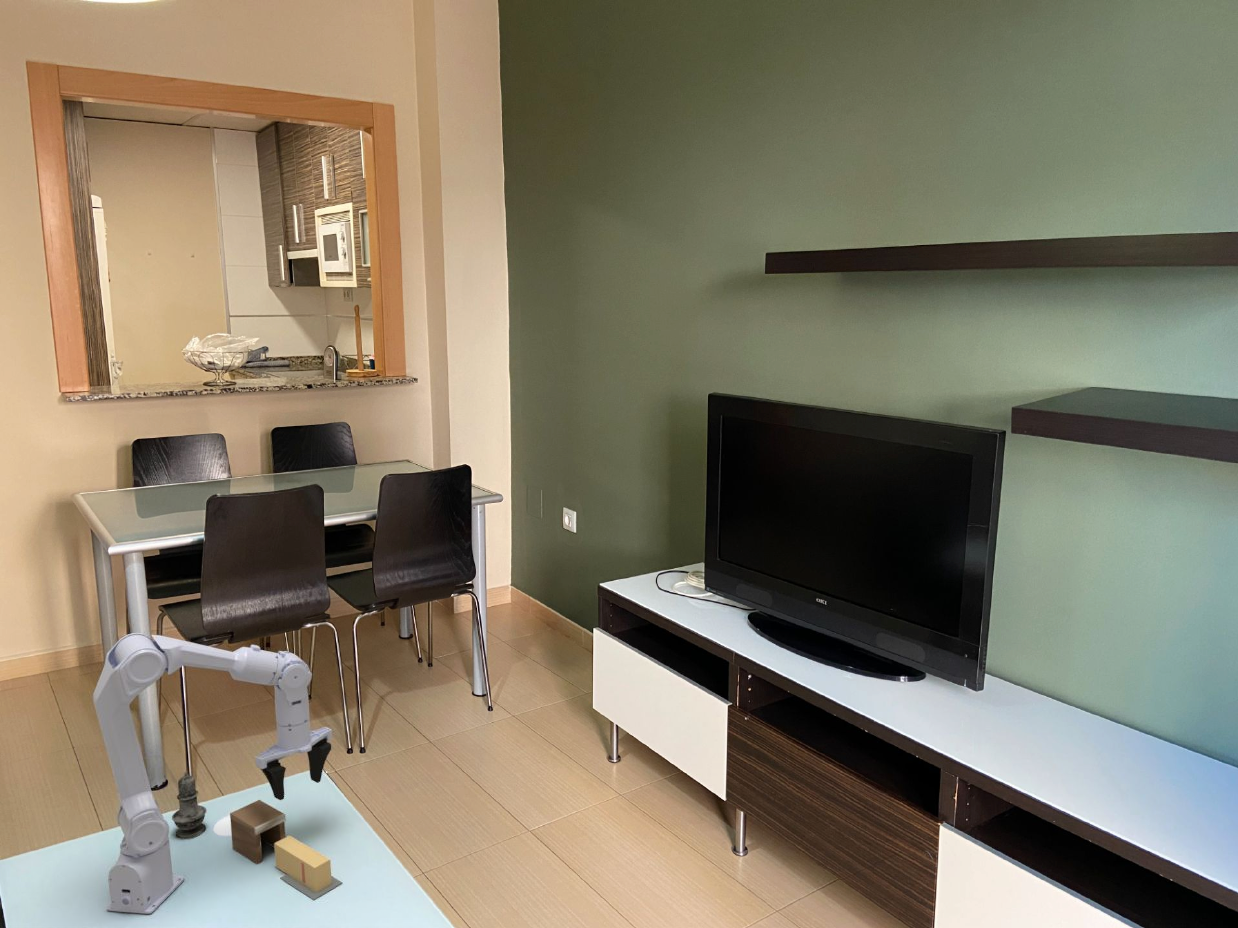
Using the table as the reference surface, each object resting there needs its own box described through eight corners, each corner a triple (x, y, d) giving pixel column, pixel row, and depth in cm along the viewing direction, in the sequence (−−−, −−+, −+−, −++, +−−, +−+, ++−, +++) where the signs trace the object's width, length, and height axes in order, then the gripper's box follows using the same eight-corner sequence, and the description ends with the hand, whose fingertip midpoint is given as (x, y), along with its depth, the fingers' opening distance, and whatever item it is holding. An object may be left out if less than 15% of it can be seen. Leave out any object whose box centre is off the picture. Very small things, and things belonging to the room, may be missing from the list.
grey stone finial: (213, 830, 169) (208, 771, 167) (180, 843, 165) (175, 783, 163) (200, 818, 173) (195, 761, 171) (168, 831, 169) (162, 772, 167)
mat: (313, 900, 149) (313, 898, 149) (280, 878, 154) (280, 877, 154) (342, 883, 153) (342, 882, 153) (308, 862, 159) (308, 861, 159)
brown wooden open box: (258, 865, 158) (255, 828, 157) (232, 848, 163) (229, 813, 162) (287, 849, 163) (285, 814, 162) (262, 834, 168) (259, 799, 167)
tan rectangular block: (316, 892, 150) (314, 867, 150) (275, 866, 157) (273, 843, 157) (331, 883, 153) (330, 859, 152) (291, 858, 160) (289, 835, 159)
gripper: (269, 740, 155) (274, 813, 157) (340, 711, 166) (344, 779, 168) (246, 729, 159) (252, 800, 161) (317, 701, 170) (321, 768, 172)
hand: (297, 788), depth 165 cm, fingers open, 7 cm apart
